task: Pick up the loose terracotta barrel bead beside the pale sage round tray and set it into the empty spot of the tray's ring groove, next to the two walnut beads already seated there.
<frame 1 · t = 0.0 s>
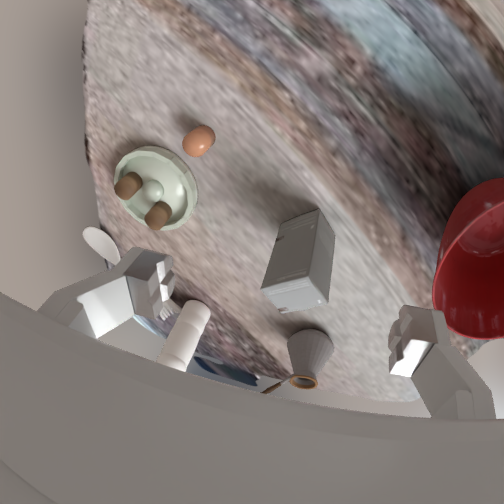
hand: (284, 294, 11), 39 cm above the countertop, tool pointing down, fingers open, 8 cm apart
seated bead b: (163, 209, 60), point 1 cm above the countertop, touching groove tray
mixing bowl: (489, 219, 44), on the countertop
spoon: (134, 267, 77), on the countertop, touching milk bottle
skincare box: (308, 230, 56), on the countertop
loose bead: (203, 136, 49), on the countertop
seated bead a: (134, 180, 58), point 1 cm above the countertop, touching groove tray
milk bottle: (198, 307, 80), on the countertop, touching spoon
coffee pot: (296, 342, 79), on the countertop
groove tray: (157, 186, 58), on the countertop
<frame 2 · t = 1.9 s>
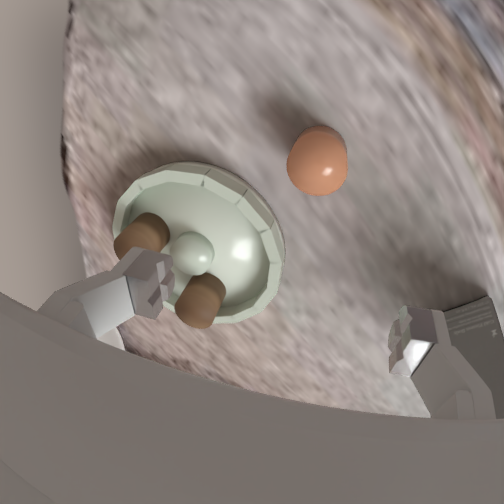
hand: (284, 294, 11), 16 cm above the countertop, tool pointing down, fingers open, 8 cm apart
seated bead b: (207, 287, 33), point 1 cm above the countertop, touching groove tray
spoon: (145, 356, 48), on the countertop, touching milk bottle
skincare box: (458, 325, 29), on the countertop
loose bead: (320, 150, 23), on the countertop
seated bead a: (152, 230, 31), point 1 cm above the countertop, touching groove tray
groove tray: (199, 243, 31), on the countertop
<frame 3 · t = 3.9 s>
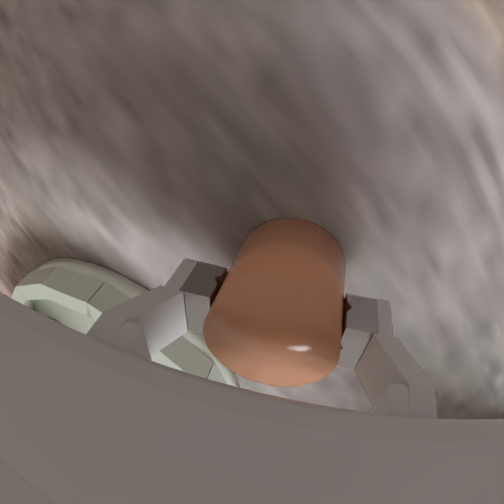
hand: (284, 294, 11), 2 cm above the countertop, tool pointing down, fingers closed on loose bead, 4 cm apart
loose bead: (291, 265, 12), on the countertop, touching gripper
groove tray: (122, 358, 20), on the countertop
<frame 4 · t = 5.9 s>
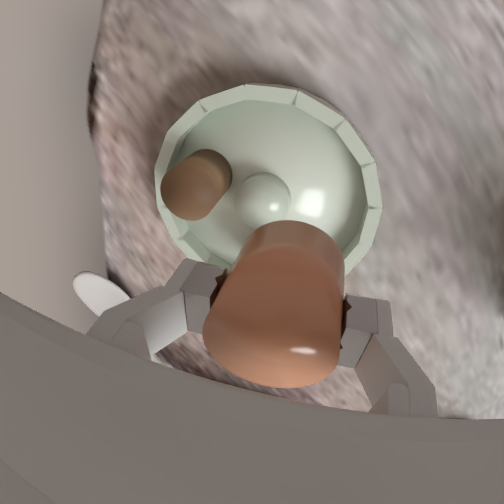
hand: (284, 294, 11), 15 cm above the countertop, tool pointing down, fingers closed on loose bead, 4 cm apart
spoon: (171, 348, 41), on the countertop, touching milk bottle
loose bead: (291, 267, 12), point 13 cm above the countertop, touching gripper
seated bead a: (207, 173, 24), point 1 cm above the countertop, touching groove tray
groove tray: (267, 191, 25), on the countertop
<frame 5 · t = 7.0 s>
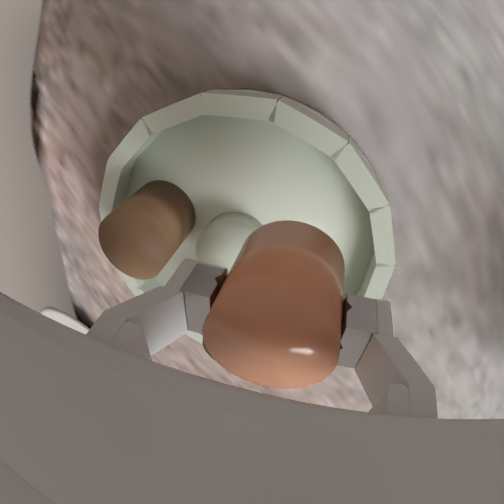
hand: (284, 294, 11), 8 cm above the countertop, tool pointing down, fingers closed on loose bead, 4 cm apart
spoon: (149, 385, 36), on the countertop, touching milk bottle
loose bead: (291, 267, 12), point 6 cm above the countertop, touching gripper
seated bead a: (164, 211, 18), point 1 cm above the countertop, touching groove tray
groove tray: (242, 233, 19), on the countertop
when the fingers open (4 cm above the countertop, at t = 8.0 s): loose bead drops 2 cm, resting on groove tray.
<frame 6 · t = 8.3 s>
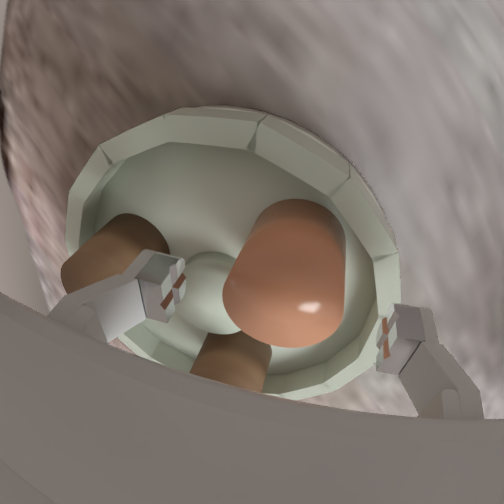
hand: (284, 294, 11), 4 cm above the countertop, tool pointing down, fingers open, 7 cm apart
seated bead b: (238, 346, 18), point 1 cm above the countertop, touching groove tray
loose bead: (298, 242, 13), point 1 cm above the countertop, touching groove tray
seated bead a: (137, 247, 16), point 1 cm above the countertop, touching groove tray
groove tray: (225, 272, 17), on the countertop
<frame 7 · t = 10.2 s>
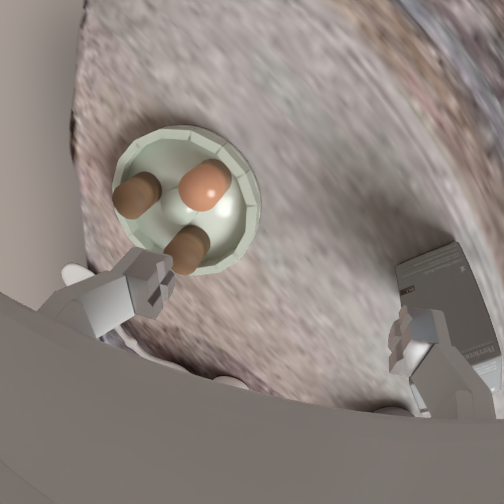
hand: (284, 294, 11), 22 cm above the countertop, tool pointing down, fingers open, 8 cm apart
seated bead b: (194, 240, 37), point 1 cm above the countertop, touching groove tray
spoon: (137, 327, 51), on the countertop, touching milk bottle
skincare box: (431, 275, 33), on the countertop
loose bead: (213, 177, 32), point 1 cm above the countertop, touching groove tray
seated bead a: (146, 188, 34), point 1 cm above the countertop, touching groove tray
groove tray: (186, 199, 35), on the countertop
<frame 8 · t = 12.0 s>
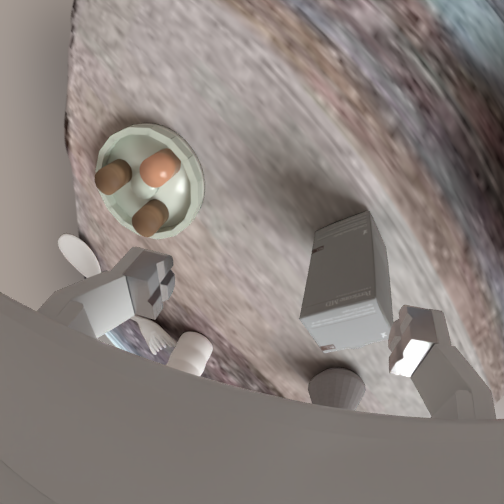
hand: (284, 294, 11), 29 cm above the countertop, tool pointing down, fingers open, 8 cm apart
seated bead b: (157, 211, 46), point 1 cm above the countertop, touching groove tray
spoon: (119, 288, 61), on the countertop, touching milk bottle
skincare box: (350, 240, 42), on the countertop
loose bead: (167, 162, 41), point 1 cm above the countertop, touching groove tray
seated bead a: (121, 171, 43), point 1 cm above the countertop, touching groove tray
milk bottle: (197, 340, 63), on the countertop, touching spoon
coffee pot: (318, 383, 62), on the countertop
groove tray: (151, 179, 44), on the countertop
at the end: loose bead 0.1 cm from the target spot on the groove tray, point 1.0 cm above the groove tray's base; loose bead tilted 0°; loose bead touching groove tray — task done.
